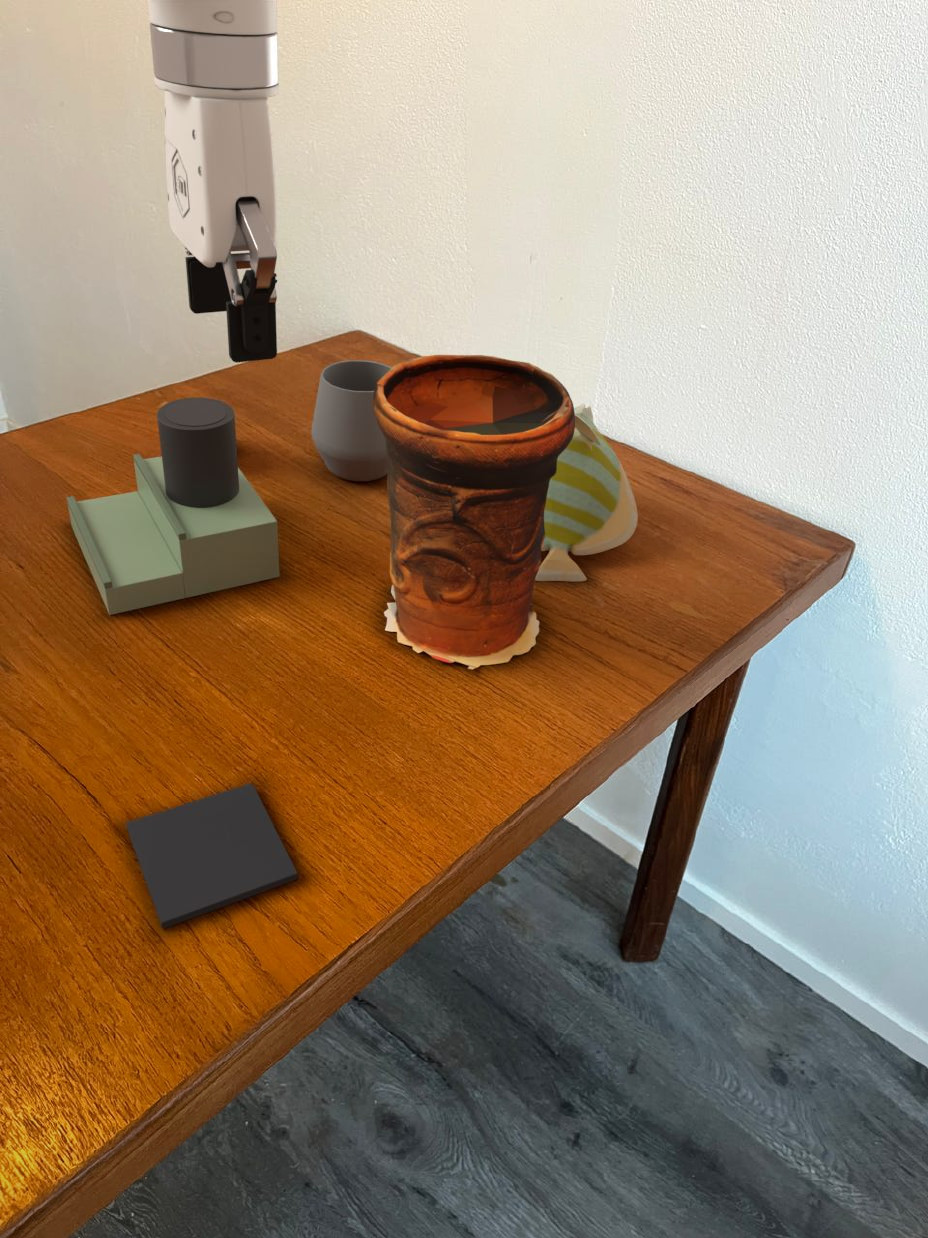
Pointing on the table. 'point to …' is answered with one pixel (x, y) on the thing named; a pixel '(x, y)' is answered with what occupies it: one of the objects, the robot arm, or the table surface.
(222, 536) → the green stepped riser
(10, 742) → the table surface
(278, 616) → the table surface
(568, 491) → the decorative fish sculpture
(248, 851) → the pad
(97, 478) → the table surface
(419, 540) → the vessel
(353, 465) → the cup
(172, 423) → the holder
